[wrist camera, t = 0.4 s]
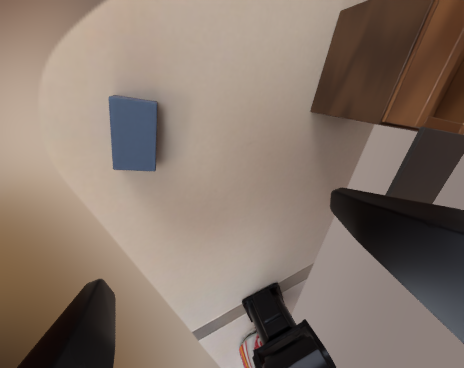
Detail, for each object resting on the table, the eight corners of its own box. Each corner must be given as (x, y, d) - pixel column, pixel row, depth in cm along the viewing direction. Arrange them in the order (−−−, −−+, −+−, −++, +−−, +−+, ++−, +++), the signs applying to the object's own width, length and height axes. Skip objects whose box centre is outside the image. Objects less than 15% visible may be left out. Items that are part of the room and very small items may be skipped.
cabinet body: (351, 119, 24) (427, 133, 17) (309, 111, 22) (378, 124, 15) (385, 29, 21) (497, 4, 14) (340, 10, 19) (446, -32, 12)
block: (155, 163, 19) (155, 171, 18) (117, 161, 18) (113, 169, 16) (157, 101, 17) (157, 103, 15) (113, 94, 16) (108, 96, 14)
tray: (428, 130, 17) (463, 136, 15) (381, 121, 15) (414, 127, 13) (493, 7, 14) (548, -5, 12) (445, -25, 12) (501, -46, 10)
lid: (411, 229, 18) (434, 242, 17) (365, 233, 16) (387, 249, 15) (469, 136, 15) (504, 142, 13) (420, 126, 13) (456, 132, 11)
